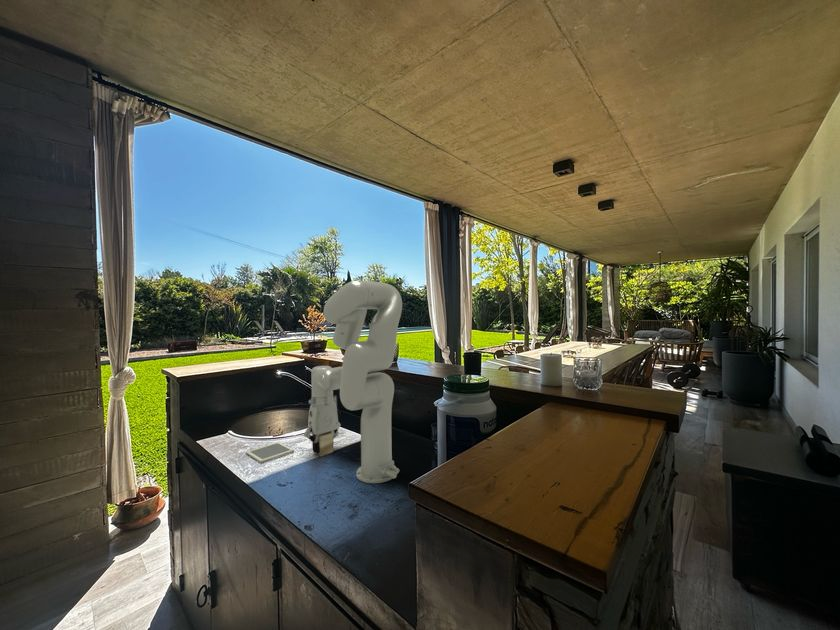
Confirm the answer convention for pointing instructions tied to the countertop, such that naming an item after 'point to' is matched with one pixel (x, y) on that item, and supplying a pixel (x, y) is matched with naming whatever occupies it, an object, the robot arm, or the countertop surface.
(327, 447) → the block
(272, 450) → the mat
